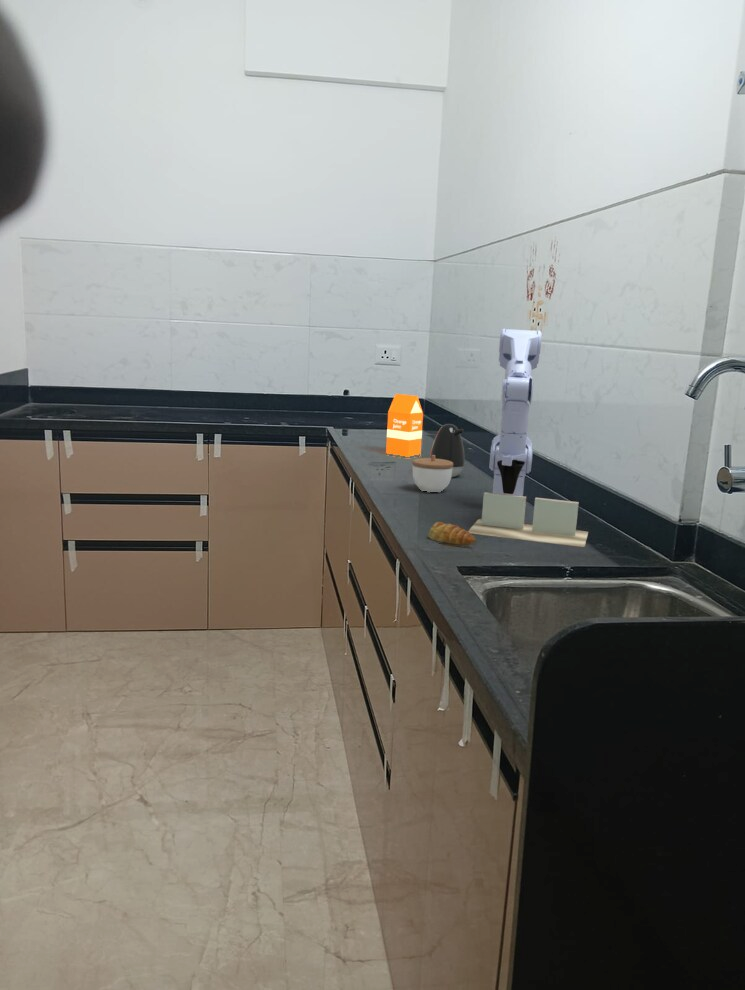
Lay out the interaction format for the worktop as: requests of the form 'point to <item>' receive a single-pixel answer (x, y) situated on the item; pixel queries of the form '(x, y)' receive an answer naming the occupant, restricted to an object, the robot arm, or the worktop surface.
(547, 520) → the tile
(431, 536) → the pastry
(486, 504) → the tile
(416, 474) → the lidded jar
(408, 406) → the orange juice
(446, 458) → the penguin figurine
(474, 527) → the board
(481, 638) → the worktop surface
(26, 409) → the worktop surface
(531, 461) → the robot arm
